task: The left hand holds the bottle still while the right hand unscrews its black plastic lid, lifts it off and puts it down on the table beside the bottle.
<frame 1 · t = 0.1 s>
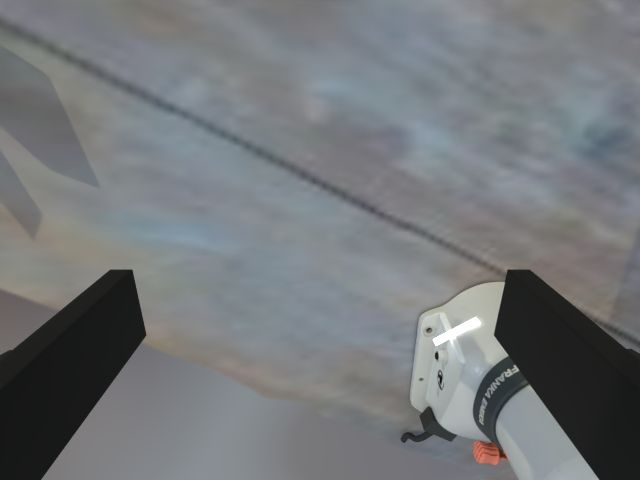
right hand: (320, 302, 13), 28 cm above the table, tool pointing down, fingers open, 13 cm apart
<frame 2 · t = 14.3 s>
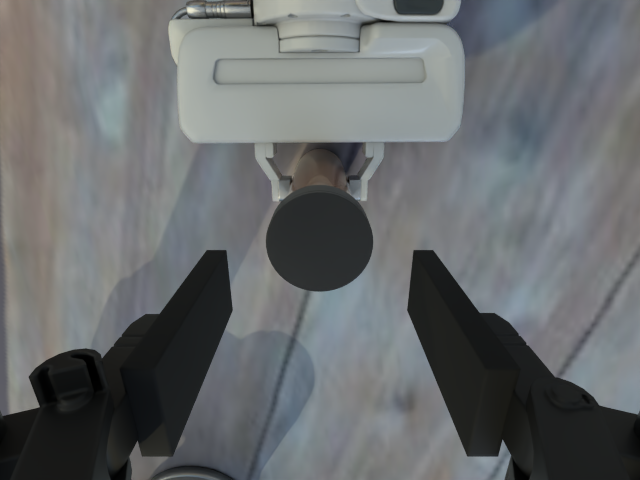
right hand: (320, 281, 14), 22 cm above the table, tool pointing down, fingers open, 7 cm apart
left hand: (320, 199, 29), fingers closed on bottle, 4 cm apart
lid: (319, 242, 18), point 18 cm above the table, screwed on, not yet turned
bottle: (319, 173, 35), on the table, touching left hand
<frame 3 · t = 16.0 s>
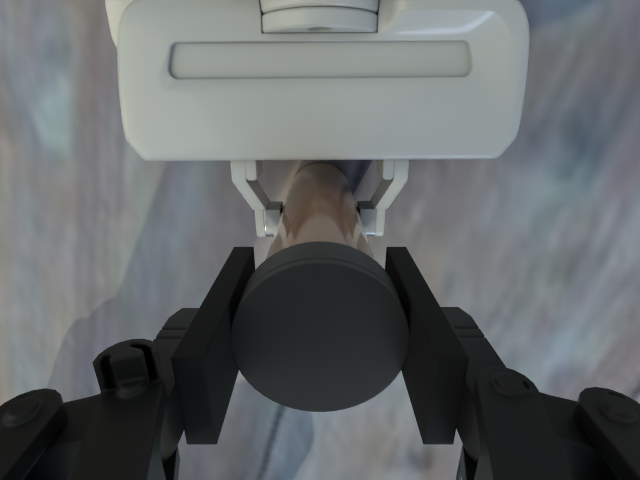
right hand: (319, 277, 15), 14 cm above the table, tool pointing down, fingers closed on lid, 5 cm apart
left hand: (320, 233, 22), fingers closed on bottle, 4 cm apart
lid: (320, 337, 11), point 18 cm above the table, screwed on, not yet turned, touching right hand
bottle: (320, 192, 28), on the table, touching left hand
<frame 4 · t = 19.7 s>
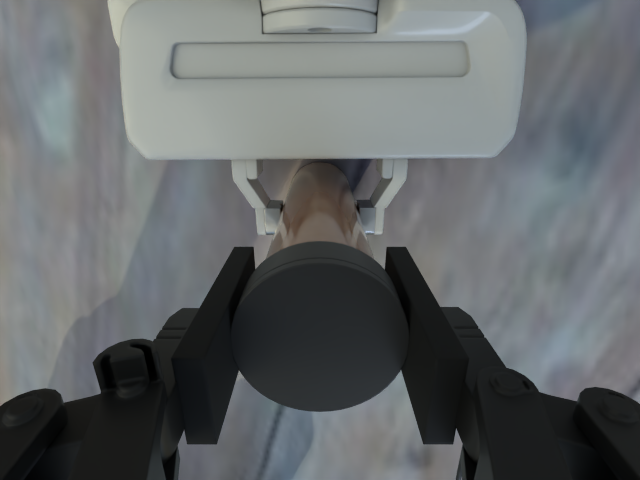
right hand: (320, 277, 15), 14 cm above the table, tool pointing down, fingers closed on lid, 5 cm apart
left hand: (320, 231, 22), fingers closed on bottle, 4 cm apart
lid: (319, 337, 11), point 18 cm above the table, turned 133° so far, risen 0.2 cm, still on its thread, touching right hand
bottle: (320, 192, 28), on the table, touching left hand
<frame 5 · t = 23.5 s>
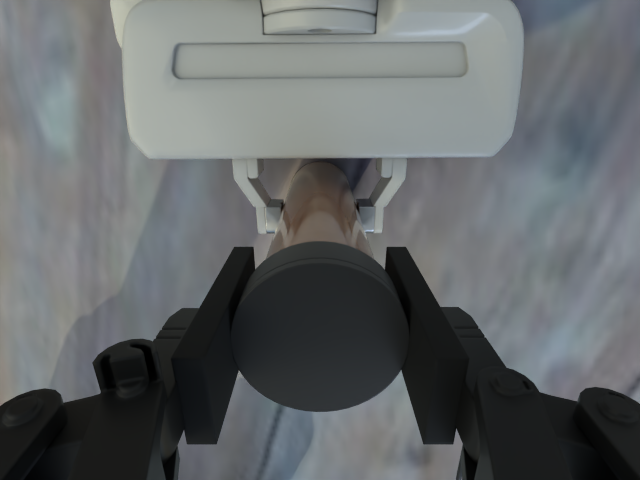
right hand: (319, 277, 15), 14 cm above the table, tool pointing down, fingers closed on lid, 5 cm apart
left hand: (320, 230, 22), fingers closed on bottle, 4 cm apart
lid: (319, 337, 11), point 18 cm above the table, turned 265° so far, risen 0.5 cm, still on its thread, touching right hand
bottle: (320, 191, 28), on the table, touching left hand
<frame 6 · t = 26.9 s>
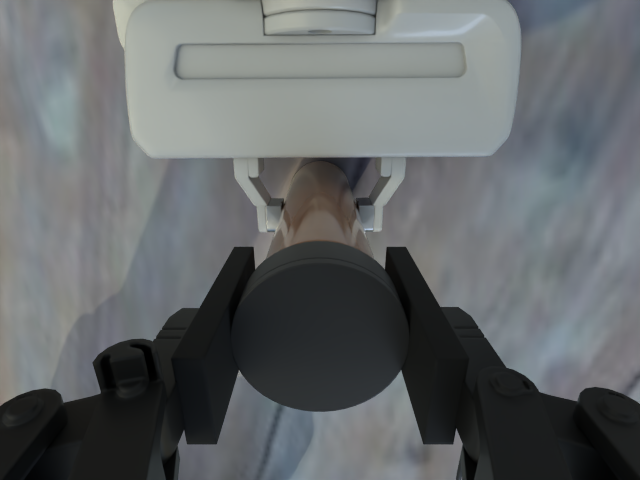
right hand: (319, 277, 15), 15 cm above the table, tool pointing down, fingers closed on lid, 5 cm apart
left hand: (320, 229, 23), fingers closed on bottle, 4 cm apart
lid: (320, 337, 11), point 19 cm above the table, turned 398° so far, risen 0.7 cm, still on its thread, touching right hand
bottle: (320, 190, 28), on the table, touching left hand
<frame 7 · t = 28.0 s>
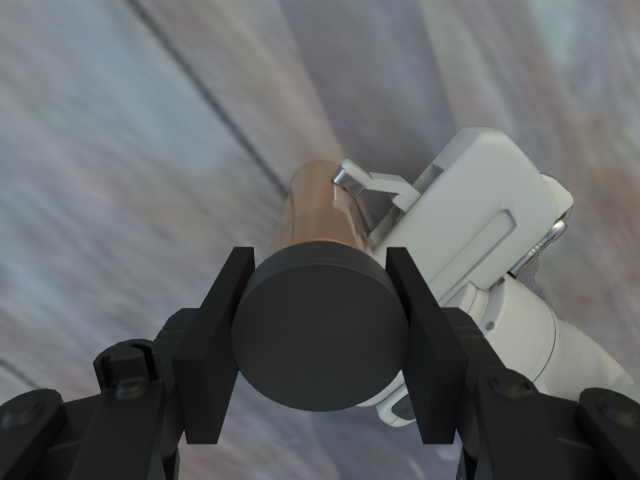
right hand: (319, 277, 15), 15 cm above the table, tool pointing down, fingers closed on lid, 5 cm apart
left hand: (308, 207, 22), fingers closed on bottle, 4 cm apart
lid: (320, 337, 11), point 19 cm above the table, off its thread, touching right hand
bottle: (320, 190, 28), on the table, touching left hand
when the right hand's fingers open (0 cm above the table, at t = 34.9 s): lid drops 3 cm, point 1 cm above the table.
when the left hand's fingers open (7 cm above the table, at t = 35.5 s): bottle stays where it is, on the table.
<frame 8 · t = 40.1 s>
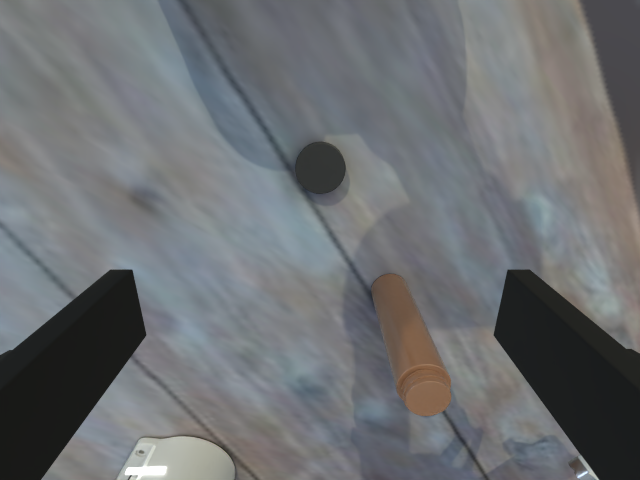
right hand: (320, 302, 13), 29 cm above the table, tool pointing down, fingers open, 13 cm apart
lid: (320, 168, 39), point 1 cm above the table, off its thread
bottle: (389, 289, 46), on the table
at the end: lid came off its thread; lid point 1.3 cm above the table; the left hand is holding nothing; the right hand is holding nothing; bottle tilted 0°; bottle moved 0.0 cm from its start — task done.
